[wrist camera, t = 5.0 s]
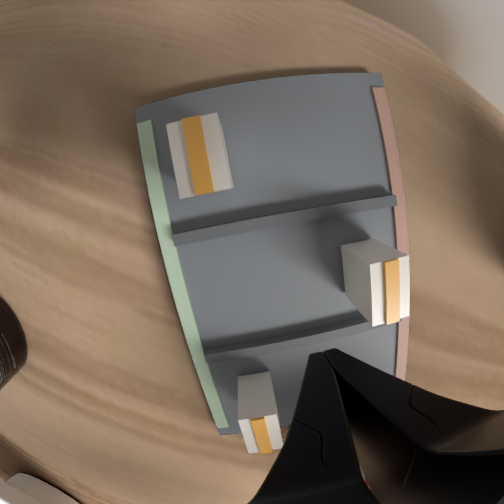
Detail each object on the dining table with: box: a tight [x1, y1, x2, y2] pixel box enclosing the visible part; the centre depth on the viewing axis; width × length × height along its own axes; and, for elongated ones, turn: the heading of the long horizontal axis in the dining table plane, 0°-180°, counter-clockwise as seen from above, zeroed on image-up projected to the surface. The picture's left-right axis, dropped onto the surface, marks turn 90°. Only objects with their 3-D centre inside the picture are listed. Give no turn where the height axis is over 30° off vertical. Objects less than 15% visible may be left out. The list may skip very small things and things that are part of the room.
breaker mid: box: [341, 239, 410, 327], centre depth 14 cm, size 2×3×4 cm, turn 10°
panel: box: [134, 73, 410, 435], centre depth 17 cm, size 14×22×2 cm, turn 11°
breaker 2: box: [238, 371, 283, 454], centre depth 16 cm, size 2×3×4 cm, turn 11°
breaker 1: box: [166, 113, 234, 199], centre depth 13 cm, size 2×3×4 cm, turn 11°
